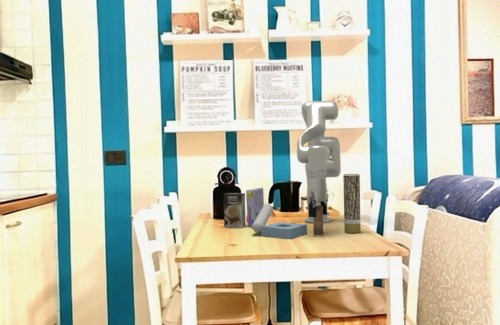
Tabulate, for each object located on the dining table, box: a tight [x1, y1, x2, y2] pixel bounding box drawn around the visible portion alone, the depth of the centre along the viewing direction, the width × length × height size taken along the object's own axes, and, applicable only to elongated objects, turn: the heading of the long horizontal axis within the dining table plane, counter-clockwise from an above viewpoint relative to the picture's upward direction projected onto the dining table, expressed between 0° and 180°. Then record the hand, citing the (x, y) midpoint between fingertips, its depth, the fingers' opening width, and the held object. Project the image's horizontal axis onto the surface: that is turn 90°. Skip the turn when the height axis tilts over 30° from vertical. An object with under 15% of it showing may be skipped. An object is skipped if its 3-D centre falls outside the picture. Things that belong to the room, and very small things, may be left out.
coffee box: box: [223, 192, 246, 229], centre depth 219 cm, size 9×6×16 cm
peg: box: [312, 206, 324, 236], centre depth 194 cm, size 4×4×12 cm
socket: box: [260, 221, 308, 240], centre depth 195 cm, size 14×14×4 cm
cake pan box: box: [245, 187, 265, 228], centre depth 226 cm, size 19×5×18 cm, turn 165°
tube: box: [251, 203, 274, 234], centre depth 205 cm, size 5×5×25 cm
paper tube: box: [342, 173, 362, 234], centre depth 198 cm, size 7×7×25 cm
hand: (318, 215), depth 193 cm, fingers open, 9 cm apart
